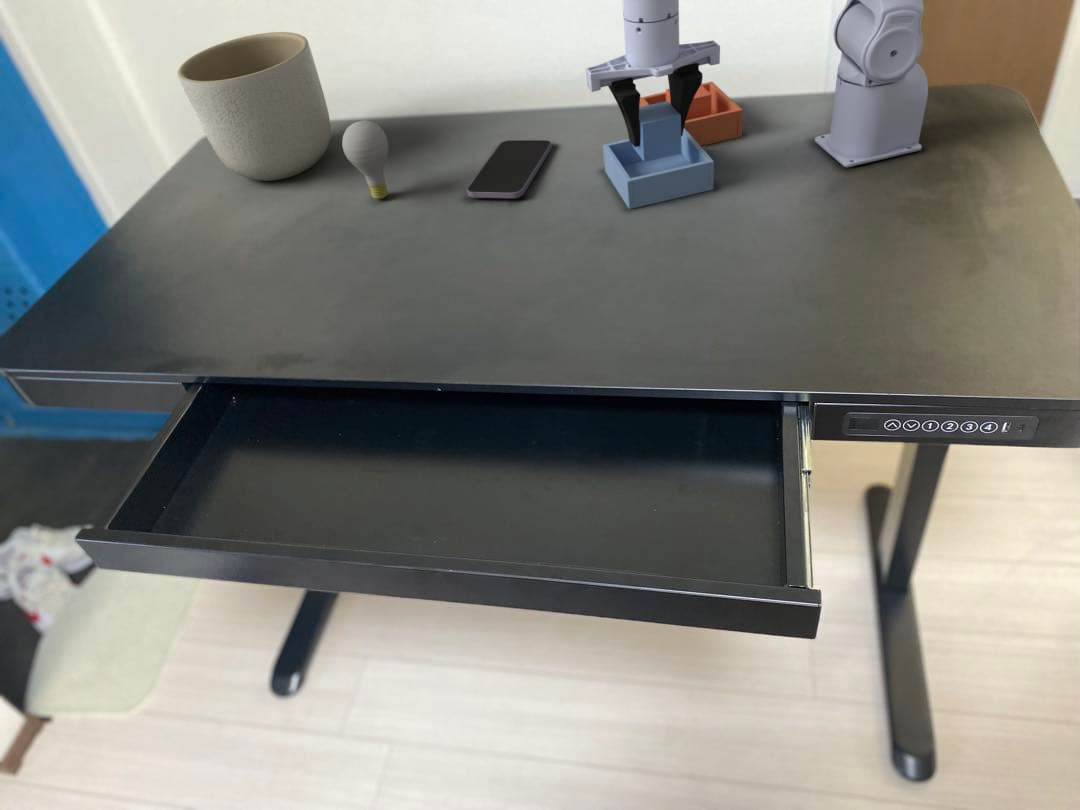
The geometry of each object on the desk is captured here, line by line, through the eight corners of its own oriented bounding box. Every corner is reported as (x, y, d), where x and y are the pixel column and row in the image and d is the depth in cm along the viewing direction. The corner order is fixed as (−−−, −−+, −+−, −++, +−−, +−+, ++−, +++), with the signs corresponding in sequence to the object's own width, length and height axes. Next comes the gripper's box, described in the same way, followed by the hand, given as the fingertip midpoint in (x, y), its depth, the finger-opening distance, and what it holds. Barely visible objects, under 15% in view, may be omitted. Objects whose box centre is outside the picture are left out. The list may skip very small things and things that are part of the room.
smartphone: (553, 140, 105) (520, 193, 95) (554, 148, 106) (521, 201, 95) (502, 140, 107) (463, 192, 97) (503, 147, 108) (465, 200, 97)
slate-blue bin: (683, 153, 99) (683, 126, 97) (713, 189, 91) (714, 161, 89) (604, 171, 98) (602, 144, 96) (629, 209, 91) (627, 181, 88)
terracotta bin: (711, 106, 108) (712, 81, 105) (741, 136, 100) (742, 109, 98) (639, 123, 107) (638, 97, 105) (664, 154, 99) (663, 127, 97)
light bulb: (410, 189, 102) (389, 114, 95) (387, 211, 98) (364, 134, 92) (375, 186, 104) (353, 111, 97) (352, 206, 101) (327, 131, 94)
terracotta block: (698, 115, 105) (698, 81, 102) (711, 128, 102) (711, 94, 99) (666, 123, 105) (665, 89, 102) (677, 136, 101) (677, 102, 98)
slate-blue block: (668, 137, 94) (667, 100, 91) (681, 153, 91) (681, 115, 88) (632, 146, 94) (630, 109, 91) (643, 162, 90) (642, 124, 87)
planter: (304, 196, 104) (261, 81, 94) (200, 192, 110) (149, 82, 100) (363, 138, 116) (331, 29, 105) (267, 136, 121) (227, 33, 111)
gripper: (593, 40, 79) (604, 166, 88) (732, 9, 80) (728, 138, 89) (576, 19, 84) (588, 141, 93) (706, -9, 85) (705, 114, 94)
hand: (655, 138), depth 91 cm, fingers closed on slate-blue block, 4 cm apart
